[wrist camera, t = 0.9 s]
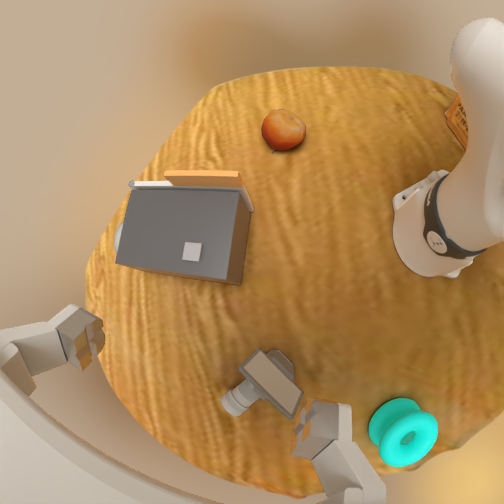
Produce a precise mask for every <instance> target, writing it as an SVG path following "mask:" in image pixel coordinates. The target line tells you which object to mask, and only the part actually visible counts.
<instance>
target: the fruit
mask: <svg viewBox="0 0 504 504" xmlns="http://www.w3.org/2000/svg"><path fill="white" fill-rule="evenodd" d="M305 134H306V126H305V124H304V123H303V122H302V121H301V119H300V118H299V117H298V116H297V115H295V114H293V113H291V112H289V111H287V110H283V109H279V110H272V111H271V112H270V113H269V114H268V116H267V117H266V118H265V119H264V121H263V124H262V136H263V138H264V139H265V140H266V141H267V143H268V144H269V145H270V147H271V148H272V149H273V151H272V154H273V152H274V151H275V150H279V151H280V150H288V149H291V148H293V147H295V146H296V145H298V144H299V143H301V142H302V141H303V139H304V137H305Z"/></svg>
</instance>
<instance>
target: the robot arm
mask: <svg viewBox="0 0 504 504" xmlns="http://www.w3.org/2000/svg"><path fill="white" fill-rule="evenodd" d="M450 69H451V76H452V80H453V83H454V86H455V88H456V90H457V92H458V94H459V97H460V99H461V101H462V104H463V107H464V110H465V114H466V119H467V126H468V144H467V149H466V152H465V154H464V156H463V157H462V159H461V160H460V162H459V163H458V164H457V166H456V167H455V168H454V169H453V171H452V172H448V171H446V170H443V169H442V170H439V171H438V172H437V171H433V172H432V173H430V174H429V175H428V176H427V178H425V179H423V180H422V181H420V182H418V183H416V184H414V185H413V186H411V187H409V188H407V189H405V190H404V191H402V192H400V193H398V194H397V195H395V196H394V197H393V200H392V202H393V208H394V212H395V217H394V223H393V240H394V244H395V247H396V250H397V252H398V255H399V256H400V258H401V260H402V261H403V262H404V264H405V265H406V266H407V267H408V268H409V269H411V270H412V271H413V272H415V273H417V274H419V275H422V276H426V277H434V276H445V277H447V278H451V279H453V278H456V277H457V276H458V275H459V273H460V271H461V269H462V268H464V267H466V266H469V265H470V264H472V263H473V259H474V257H475V256H477V255H479V254H481V253H482V252H484V251H485V250H486V249H487V248H488V247H490V246H493V245H495V244H498V243H500V242H503V241H504V24H503V23H502V22H500V21H498V20H496V19H495V18H481V19H477V20H474V21H471V22H469V23H468V24H466V25H465V26H464V27H463V28H462V29H461V30H460V31H459V32H458V33H457V35H456V37H455V39H454V41H453V44H452V47H451V53H450ZM402 197H404V198H405V200H404V199H403V198H402ZM102 327H103V321H102V319H100V318H98V317H97V316H95V315H93V314H92V313H90V312H88V311H87V310H85V309H83V308H82V307H80V306H78V305H77V304H75V303H72V304H69V305H68V306H67V307H66V308H64V309H63V310H62V311H61V312H59V313H58V314H57V315H56V316H54V317H53V318H52V319H51V320H50V321H48V322H45V321H43V322H38V323H33V324H29V325H24V326H18V327H13V328H8V329H3V330H0V504H223V503H219V502H216V501H212V500H209V499H206V498H202V497H199V496H197V495H194V494H191V493H187V492H185V491H182V490H180V489H177V488H175V487H172V486H170V485H167V484H165V483H162V482H160V481H158V480H155V479H153V478H151V477H149V476H147V475H145V474H143V473H140V472H138V471H136V470H134V469H132V468H130V467H129V466H127V465H125V464H123V463H121V462H119V461H117V460H116V459H114V458H112V457H110V456H108V455H107V454H105V453H104V452H102V451H100V450H99V449H97V448H95V447H94V446H92V445H91V444H89V443H88V442H86V441H85V440H83V439H82V438H80V437H79V436H77V435H76V434H74V433H73V432H72V431H70V430H69V429H68V428H66V427H65V426H63V425H62V424H61V423H60V422H58V421H57V420H56V419H54V418H53V417H52V416H51V415H49V414H48V413H47V412H45V411H44V410H43V409H42V408H41V407H40V406H38V405H37V404H36V403H35V402H34V401H33V400H32V399H31V398H30V397H29V396H30V395H31V394H32V392H33V391H34V390H35V389H36V384H35V382H34V380H33V378H32V376H35V375H37V374H40V373H42V372H45V371H48V370H51V369H53V368H56V367H58V366H61V365H63V364H66V363H67V362H68V363H70V364H72V365H73V366H75V367H76V368H78V369H79V370H81V371H83V370H84V369H85V368H86V367H87V366H88V365H89V364H90V363H91V362H92V356H95V355H98V354H99V353H100V352H101V351H102V349H103V347H104V344H105V334H104V332H103V331H102V329H101V328H102ZM294 432H295V434H296V437H295V438H294V439H293V440H292V444H291V450H290V456H295V457H299V458H305V459H310V460H311V462H312V464H313V466H314V469H315V471H316V473H317V475H318V478H319V480H320V482H321V484H322V487H323V489H324V491H325V493H326V495H327V497H328V498H327V499H325V500H323V501H321V502H319V503H317V504H386V486H385V485H384V483H383V482H382V480H381V479H380V477H379V476H378V474H377V473H376V471H375V470H374V469H373V467H372V466H371V464H370V463H369V461H368V460H367V458H366V457H365V455H364V454H363V452H362V451H361V449H360V448H359V446H358V445H357V443H355V442H352V408H351V406H350V405H348V404H342V403H337V402H333V401H328V400H323V399H318V398H313V397H311V398H309V400H308V401H307V402H306V408H303V409H301V411H300V412H299V414H298V416H297V419H296V422H295V426H294Z"/></svg>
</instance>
